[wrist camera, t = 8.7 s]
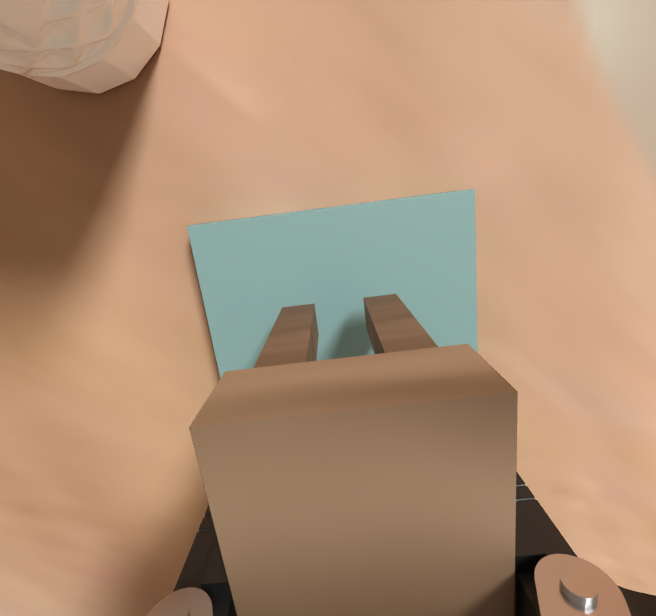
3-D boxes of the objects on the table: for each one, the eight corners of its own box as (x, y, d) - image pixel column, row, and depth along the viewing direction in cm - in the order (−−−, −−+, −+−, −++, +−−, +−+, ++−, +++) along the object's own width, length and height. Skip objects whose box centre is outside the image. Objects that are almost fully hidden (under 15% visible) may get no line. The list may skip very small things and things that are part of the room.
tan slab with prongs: (270, 300, 13) (189, 427, 6) (406, 284, 13) (516, 391, 5) (304, 501, 16) (280, 786, 8) (420, 489, 15) (512, 769, 8)
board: (258, 518, 19) (255, 535, 18) (196, 224, 15) (186, 225, 14) (472, 498, 18) (480, 514, 17) (464, 190, 14) (474, 188, 14)
